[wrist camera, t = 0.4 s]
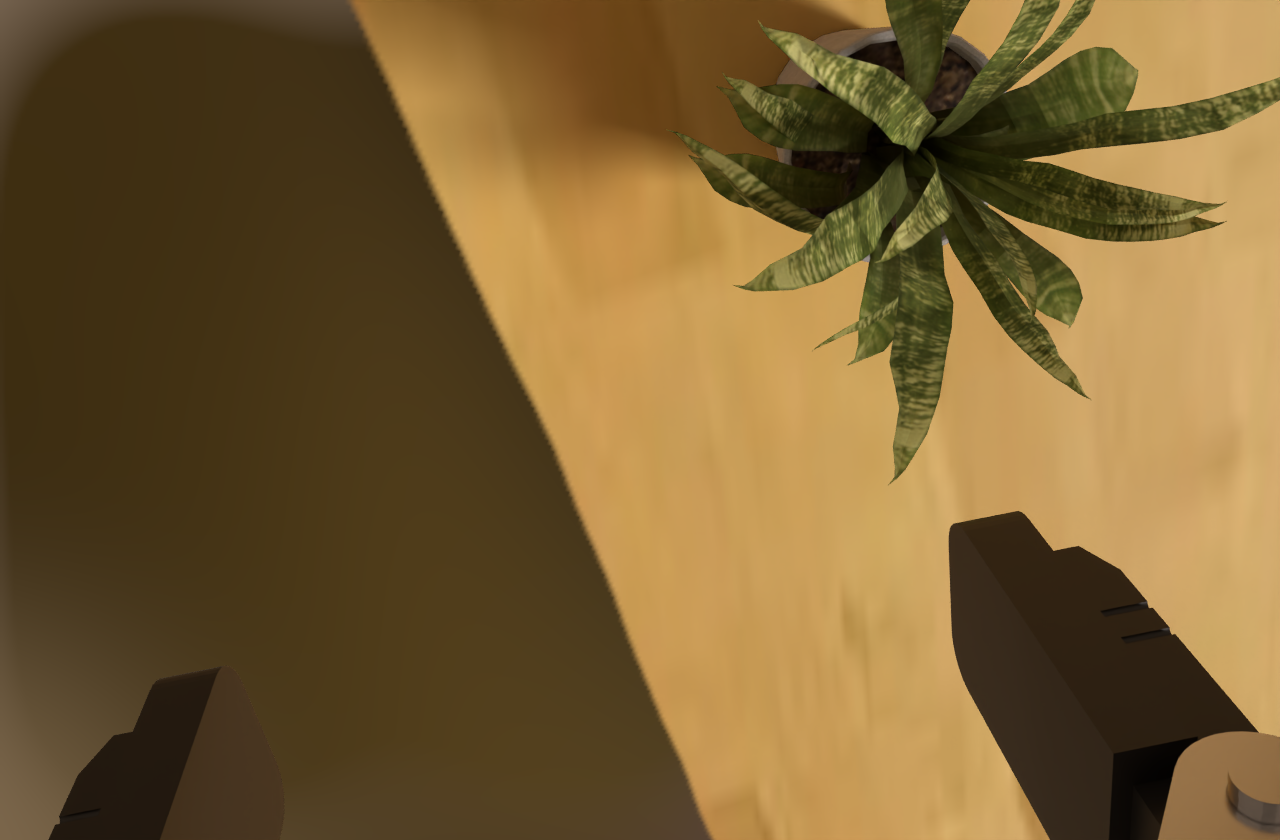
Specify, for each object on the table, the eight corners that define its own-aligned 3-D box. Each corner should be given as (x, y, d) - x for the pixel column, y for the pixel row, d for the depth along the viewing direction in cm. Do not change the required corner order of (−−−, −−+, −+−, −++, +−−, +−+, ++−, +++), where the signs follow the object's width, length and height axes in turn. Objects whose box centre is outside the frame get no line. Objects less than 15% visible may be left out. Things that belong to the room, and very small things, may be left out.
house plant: (955, -260, 34) (1288, -341, 20) (1128, 112, 40) (1481, 262, 25) (578, 28, 37) (626, 144, 22) (793, 337, 43) (942, 588, 28)
